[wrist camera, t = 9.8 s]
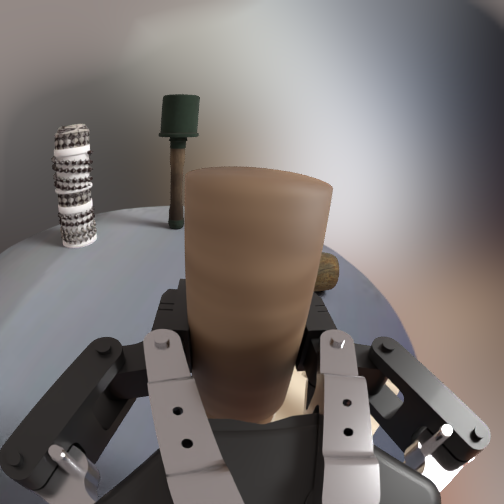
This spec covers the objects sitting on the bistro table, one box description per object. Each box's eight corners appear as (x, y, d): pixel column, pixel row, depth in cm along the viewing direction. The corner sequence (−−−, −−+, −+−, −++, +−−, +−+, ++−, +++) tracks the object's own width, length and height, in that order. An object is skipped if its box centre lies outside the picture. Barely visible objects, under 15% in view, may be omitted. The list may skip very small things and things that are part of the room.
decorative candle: (78, 229, 58) (71, 125, 47) (106, 234, 57) (101, 121, 46) (53, 245, 50) (42, 129, 39) (82, 251, 49) (72, 124, 38)
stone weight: (320, 276, 50) (328, 243, 47) (336, 298, 44) (346, 262, 41) (238, 278, 47) (241, 241, 44) (245, 303, 41) (249, 263, 38)
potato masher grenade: (200, 224, 66) (208, 97, 53) (181, 237, 59) (187, 93, 46) (172, 218, 69) (176, 97, 55) (151, 229, 61) (153, 95, 48)
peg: (234, 477, 11) (265, 204, 5) (185, 429, 14) (158, 172, 8) (286, 434, 14) (356, 188, 8) (237, 396, 16) (256, 164, 11)
